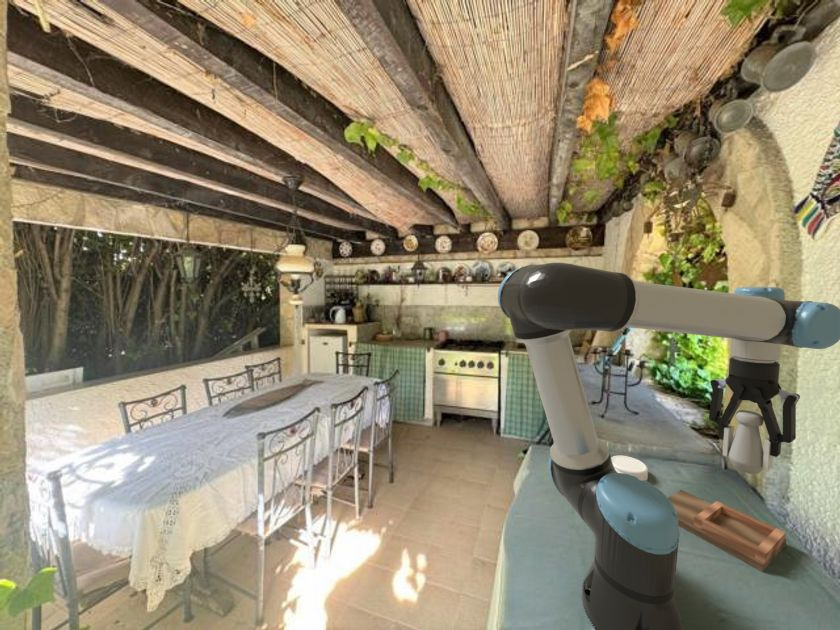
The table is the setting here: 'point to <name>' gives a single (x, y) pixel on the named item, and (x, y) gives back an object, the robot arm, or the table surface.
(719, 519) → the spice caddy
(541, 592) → the table surface
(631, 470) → the white round container
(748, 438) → the salt shaker
